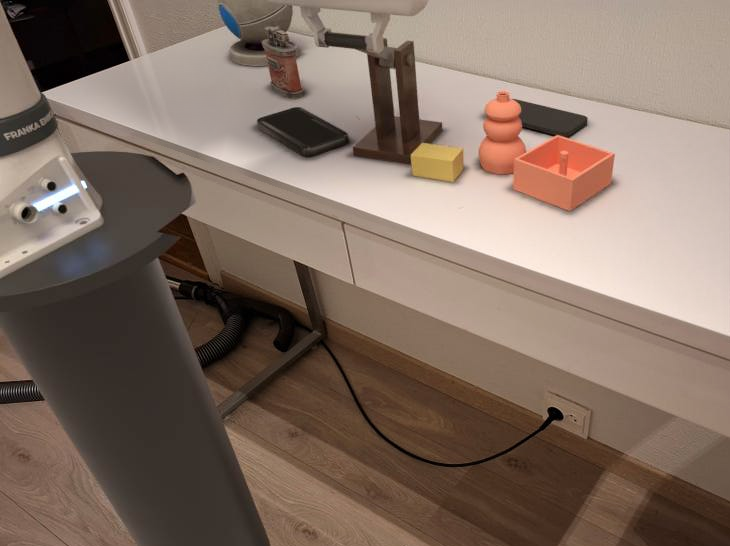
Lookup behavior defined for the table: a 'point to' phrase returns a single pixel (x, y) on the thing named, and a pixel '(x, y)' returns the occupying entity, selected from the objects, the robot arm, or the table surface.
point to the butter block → (437, 162)
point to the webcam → (253, 27)
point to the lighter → (282, 63)
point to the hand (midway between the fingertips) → (350, 48)
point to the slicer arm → (361, 47)
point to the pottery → (542, 159)
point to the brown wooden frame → (392, 132)
